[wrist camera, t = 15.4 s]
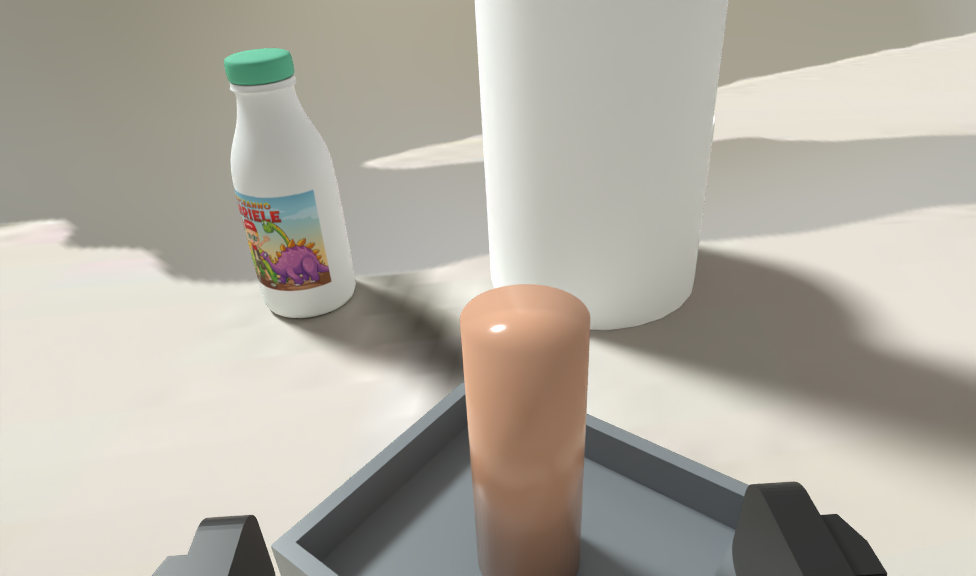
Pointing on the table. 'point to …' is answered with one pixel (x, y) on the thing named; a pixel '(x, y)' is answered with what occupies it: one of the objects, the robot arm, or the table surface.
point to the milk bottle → (286, 190)
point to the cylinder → (599, 147)
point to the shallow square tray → (451, 519)
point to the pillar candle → (526, 426)
